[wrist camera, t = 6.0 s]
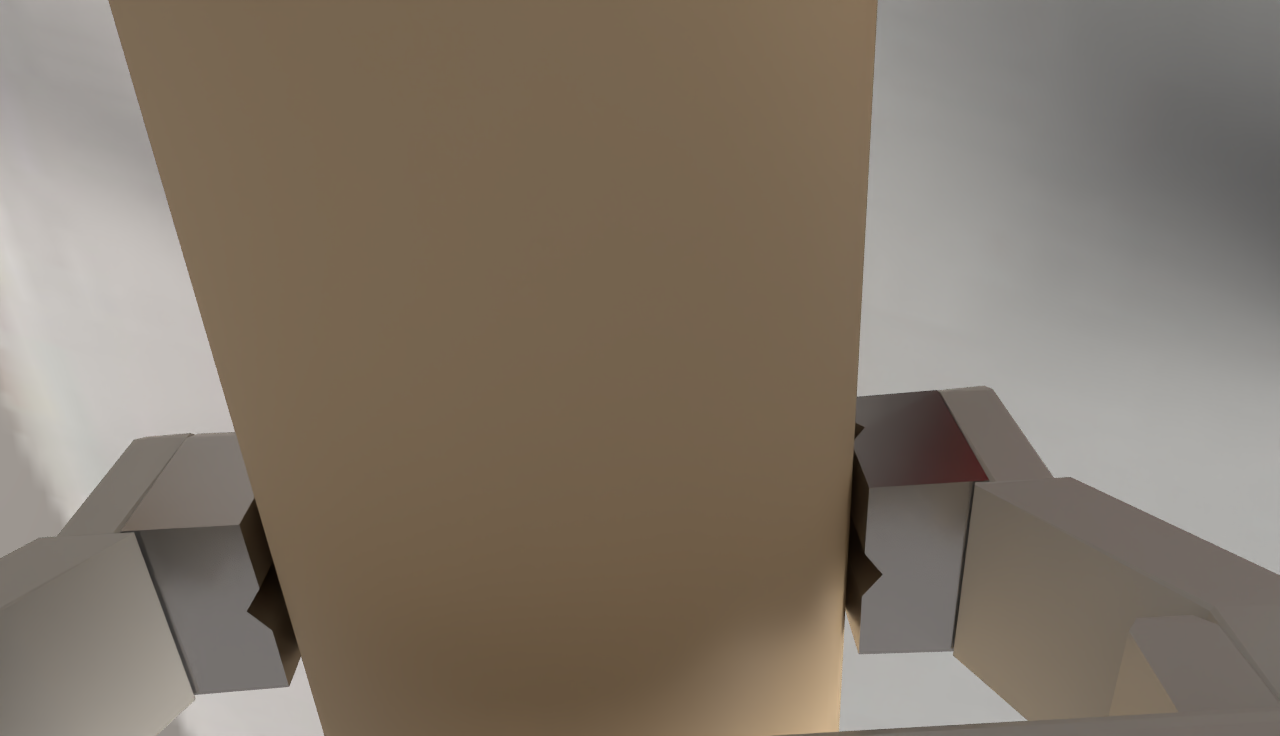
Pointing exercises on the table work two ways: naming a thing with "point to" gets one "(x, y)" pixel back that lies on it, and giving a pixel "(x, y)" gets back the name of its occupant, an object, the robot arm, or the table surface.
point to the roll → (534, 343)
